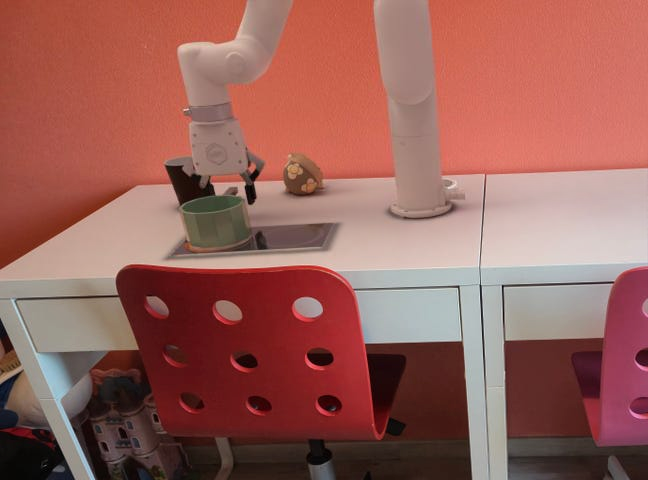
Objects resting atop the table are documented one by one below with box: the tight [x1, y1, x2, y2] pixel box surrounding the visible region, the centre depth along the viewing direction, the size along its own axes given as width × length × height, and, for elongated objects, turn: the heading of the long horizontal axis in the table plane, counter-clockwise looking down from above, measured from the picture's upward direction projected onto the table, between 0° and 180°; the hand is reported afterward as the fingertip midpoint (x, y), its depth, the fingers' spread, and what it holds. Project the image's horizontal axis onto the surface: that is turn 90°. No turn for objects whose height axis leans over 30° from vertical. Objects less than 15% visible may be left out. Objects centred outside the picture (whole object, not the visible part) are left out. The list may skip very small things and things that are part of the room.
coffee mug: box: [163, 155, 205, 207], centre depth 155 cm, size 12×9×10 cm
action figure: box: [282, 152, 324, 196], centre depth 161 cm, size 10×11×15 cm
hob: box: [167, 222, 334, 258], centre depth 134 cm, size 28×14×1 cm, turn 92°
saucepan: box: [178, 186, 252, 251], centre depth 136 cm, size 11×20×7 cm, turn 3°
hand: (232, 203), depth 143 cm, fingers open, 7 cm apart
